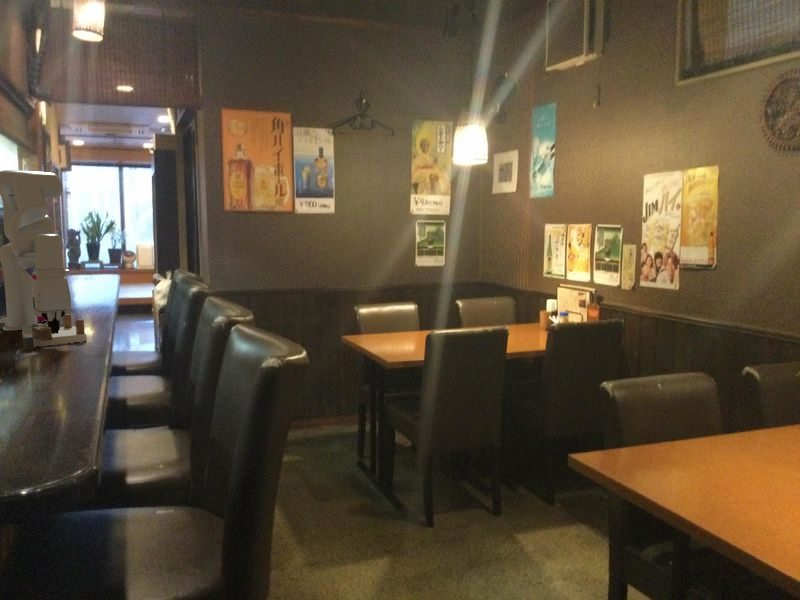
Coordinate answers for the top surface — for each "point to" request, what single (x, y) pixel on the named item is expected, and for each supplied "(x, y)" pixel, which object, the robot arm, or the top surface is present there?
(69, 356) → the top surface
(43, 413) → the top surface
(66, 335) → the seat board
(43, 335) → the hinged leg
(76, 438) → the top surface
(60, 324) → the leg peg
